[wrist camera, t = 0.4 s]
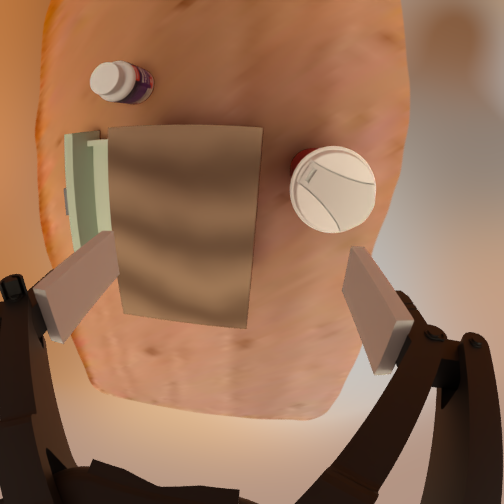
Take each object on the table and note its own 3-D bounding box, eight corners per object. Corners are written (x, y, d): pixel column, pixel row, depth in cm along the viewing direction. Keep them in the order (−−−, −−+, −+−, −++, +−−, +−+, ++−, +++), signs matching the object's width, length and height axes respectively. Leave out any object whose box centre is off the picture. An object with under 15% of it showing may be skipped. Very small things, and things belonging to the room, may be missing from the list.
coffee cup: (269, 178, 39) (272, 207, 25) (303, 128, 36) (325, 128, 22) (320, 211, 41) (347, 254, 27) (353, 163, 38) (398, 184, 24)
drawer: (79, 132, 36) (51, 136, 30) (177, 126, 36) (160, 127, 30) (88, 250, 44) (65, 270, 38) (177, 259, 44) (163, 283, 38)
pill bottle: (162, 82, 34) (133, 71, 25) (137, 111, 36) (103, 109, 27) (137, 62, 33) (104, 48, 24) (114, 90, 34) (77, 85, 25)
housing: (160, 125, 37) (107, 127, 23) (263, 128, 36) (262, 127, 23) (162, 258, 45) (123, 313, 31) (252, 266, 44) (246, 329, 31)
